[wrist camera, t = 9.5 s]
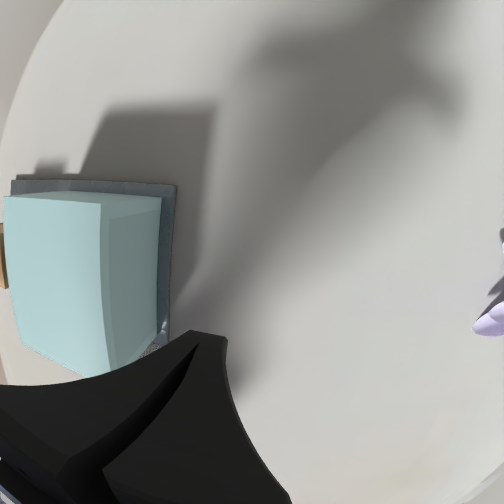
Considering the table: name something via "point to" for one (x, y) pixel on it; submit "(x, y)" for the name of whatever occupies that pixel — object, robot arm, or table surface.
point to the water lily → (491, 321)
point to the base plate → (129, 189)
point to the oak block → (3, 261)
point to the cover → (83, 275)
